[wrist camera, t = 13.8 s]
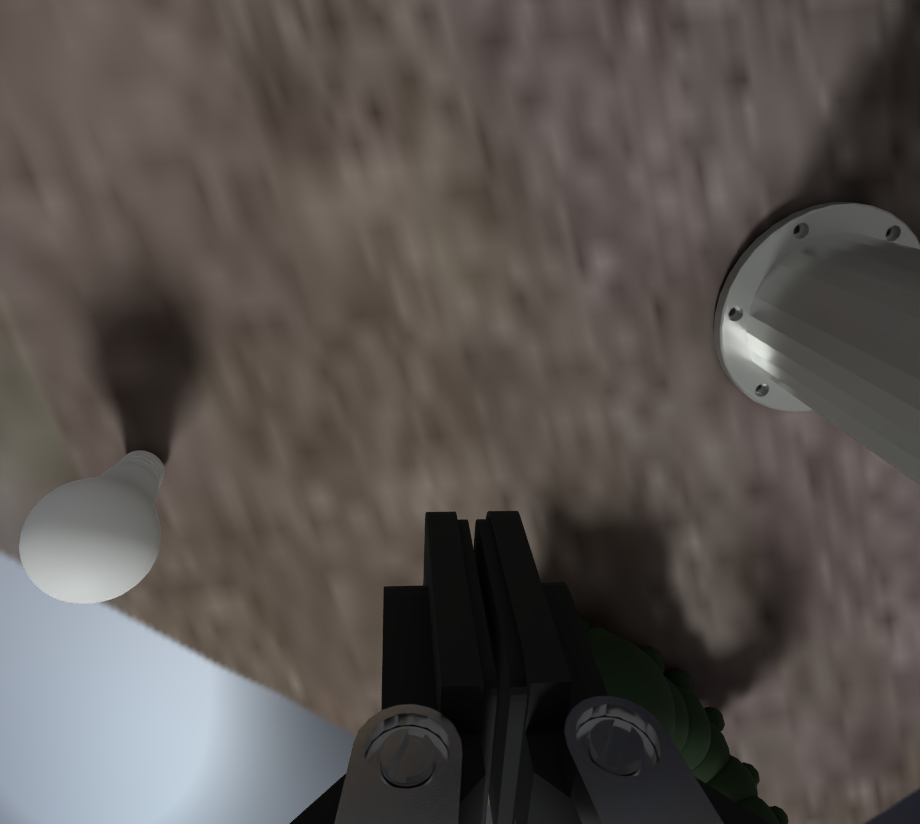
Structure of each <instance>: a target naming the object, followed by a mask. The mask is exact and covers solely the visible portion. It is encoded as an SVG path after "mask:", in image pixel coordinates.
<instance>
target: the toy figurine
mask: <svg viewBox="0 0 920 824" xmlns="http://www.w3.org/2000/svg"><path fill="white" fill-rule="evenodd" d="M579 618H580V617H579ZM580 621H581V624H582V626H583V629H584V632H585V634H586V637H587V640H588V643H589V645H590V648H591V651H592V653H593V656H594V659H595V661H596V664H597V667H598V670H599V672H600V675H601V678H602V680H603V683H604V686H605V688H606V691H607V694H608V696H613V697H618V698H623V699H627V700H629V701H631V702H633V703H636V704H638V705H640V706H642V707H643V708H645V709H646V710H647V711H648V712H650V713H651V714H652V715H654V716H655V717H656V718H657V720H658V721H659V722H660V723H661V724H662V726H663V727H664V728H665V729H666V731H667V733H668V734H669V736H670V737H671V739H672V741H673V742H674V744H675V746H676V747H677V749H678V750H679V752H680V754H681V755H682V757H683V758H684V760H685V762H686V763H687V765H688V767H689V768H690V770H691V771H692V773H693V775H694V776H695V777H696V778H698V779H699V780H701V781H703V782H704V783H706V784H707V785H709V786H711V787H712V788H714V789H715V790H717V791H719V792H720V793H722V794H723V795H725V796H727V797H728V798H730V799H731V800H733V801H735V802H736V803H738V804H739V805H741V806H743V807H744V808H746V809H747V810H749V811H751V812H752V813H754V814H755V815H757V816H759V817H760V818H762V819H763V820H765V821H767V822H768V823H770V824H788V817H787V815H786V813H785V812H784V811H783V809H781V808H779V807H777V806H772V807H769V806H768V805H767V804H766V803H765V802H764V801H763V800H762V799H760V798H759V797H758V794H757V785H758V783H759V781H760V780H759V774H758V771H757V770H756V769H755V768H754V767H753V766H752V765H750V764H747V763H744V762H743V763H741V762H740V761H739V760H738V759H737V758H735V757H733V756H731V755H730V753H729V748H728V745H727V743H726V740H725V738H724V736H723V734H722V733H721V732H720V731H722V730H723V728H724V725H725V724H724V720H723V716H722V714H721V713H720V712H719V711H718V710H717V709H716V708H713V707H705V708H703V706H702V705H701V703H700V702H699V701H698V700H697V699H696V698H695V697H694V696H693V695H692V694H691V692H692V690H693V687H692V681H691V679H690V677H689V675H688V674H686V673H685V672H683V671H680V670H677V669H675V670H671V671H670V672H669V673H668V674H667V675H666V676H664V675H663V673H664V669H665V666H664V663H663V660H662V657H661V654H660V652H658V651H657V650H656V649H654V648H653V647H651V646H641V647H637V646H636V645H634V644H633V643H631V642H630V641H628V640H626V639H624V638H622V637H620V636H617V635H614V634H611V633H609V632H608V631H607V630H606V629H604V628H602V627H593V628H590V626H589V625H588V624H587V622H586V621H585V620H584V619H582V618H580Z"/></svg>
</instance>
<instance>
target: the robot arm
mask: <svg viewBox="0 0 920 824" xmlns="http://www.w3.org/2000/svg"><path fill="white" fill-rule="evenodd" d="M795 227H796V229H795ZM794 229H795V231H794ZM731 309H732V311H731V312H730V310H731ZM729 312H730V313H729ZM714 340H715V347H716V353H717V356H718V358H719V361H720V364H721V366H722V369H723V370H724V372H725V373H726V375H727V376H728V378H729V379H730V381H731V382H732V383H733V384H734V385H735V386H736V387H737V388H739V389H740V390H741V391H742V392H743V393H744V394H745V395H747V396H748V397H749V398H751V399H752V400H754V401H755V402H757V403H760V404H762V405H764V406H767V407H769V408H771V409H776V410H781V411H787V412H808V411H815V412H817V413H818V414H819V415H821V416H822V417H824V418H825V419H827V420H828V421H829V422H831V423H832V424H834V425H835V426H836V427H838V428H839V429H841V430H842V431H844V432H845V433H846V434H848V435H849V436H851V437H852V438H853V439H855V440H856V441H858V442H859V443H861V444H862V445H863V446H865V447H866V448H868V449H869V450H870V451H872V452H873V453H875V454H876V455H878V456H879V457H880V458H882V459H883V460H885V461H886V462H887V463H889V464H890V465H892V466H893V467H895V468H896V469H897V470H899V471H900V472H902V473H903V474H904V475H906V476H907V477H909V478H910V479H912V480H913V481H914V482H916V483H917V484H919V485H920V243H919V241H918V239H917V237H916V236H915V234H914V233H913V232H912V231H911V229H910V228H909V227H908V226H907V224H906V223H904V222H903V221H901V220H900V219H899V218H897V217H896V216H895V215H893V214H892V213H890V212H887V211H885V210H882V209H880V208H877V207H875V206H871V205H866V204H861V203H856V202H831V203H825V204H819V205H814V206H811V207H808V208H806V209H803V210H800V211H798V212H795V213H793V214H791V215H789V216H788V217H786V218H784V219H782V220H781V221H779V222H777V223H775V224H774V225H773V226H771V227H770V228H769V229H768V230H766V231H765V232H764V233H763V234H762V235H760V236H759V237H758V238H757V239H756V240H755V241H754V242H753V243H752V244H751V245H750V246H749V247H748V249H747V250H746V251H745V252H744V253H743V254H742V255H741V256H740V258H739V259H738V261H737V263H736V264H735V266H734V267H733V269H732V270H731V272H730V273H729V275H728V277H727V279H726V282H725V284H724V286H723V289H722V291H721V293H720V296H719V300H718V304H717V308H716V312H715V320H714ZM488 793H489V800H490V807H491V814H492V821H493V824H770V823H768V822H767V821H765V820H763V819H762V818H760V817H759V816H757V815H755V814H754V813H752V812H751V811H749V810H747V809H746V808H744V807H743V806H741V805H739V804H738V803H736V802H735V801H733V800H731V799H730V798H728V797H727V796H725V795H723V794H722V793H720V792H719V791H717V790H715V789H714V788H712V787H711V786H709V785H707V784H706V783H704V782H703V781H701V780H699V779H698V778H696V777H695V776H694V775H693V773H692V771H691V770H690V768H689V767H688V765H687V763H686V762H685V760H684V758H683V757H682V755H681V754H680V752H679V750H678V749H677V747H676V746H675V744H674V742H673V741H672V739H671V737H670V736H669V734H668V733H667V731H666V729H665V728H664V727H663V726H662V724H661V723H660V722H659V721H658V720H657V718H656V717H655V716H654V715H652V714H651V713H650V712H648V711H647V710H646V709H645V708H643V707H642V706H640V705H638V704H636V703H633V702H631V701H629V700H627V699H623V698H618V697H613V696H608V694H607V691H606V688H605V686H604V683H603V680H602V678H601V675H600V672H599V670H598V667H597V664H596V661H595V659H594V656H593V653H592V651H591V648H590V645H589V643H588V640H587V637H586V634H585V632H584V629H583V626H582V624H581V621H580V618H579V616H578V613H577V610H576V607H575V605H574V602H573V599H572V597H571V594H570V591H569V589H568V587H567V585H566V584H565V583H564V582H557V583H541V581H540V578H539V574H538V571H537V568H536V565H535V562H534V559H533V555H532V552H531V549H530V546H529V543H528V540H527V536H526V533H525V530H524V527H523V524H522V521H521V518H520V514H519V512H518V511H488V512H487V516H486V519H477V520H476V524H475V537H474V550H473V544H472V539H471V534H470V528H469V523H468V520H457V514H456V512H426V515H425V545H424V580H423V586H389V587H384V606H383V661H382V711H380V712H378V713H377V714H375V715H374V716H372V717H371V718H369V719H368V720H367V722H366V723H365V724H364V725H363V726H362V727H361V729H360V730H359V732H358V734H357V736H356V739H355V741H354V743H353V748H352V752H351V756H350V760H349V764H348V768H347V773H346V774H345V775H344V776H343V777H341V778H340V779H339V780H338V781H337V782H336V783H335V784H334V785H332V786H331V787H330V788H329V789H328V790H327V791H326V792H325V793H324V794H322V795H321V796H320V797H319V798H318V799H317V800H316V801H314V802H313V803H312V804H311V805H310V806H309V807H308V808H307V809H306V810H304V811H303V812H302V813H301V814H300V815H299V816H298V817H297V818H296V819H294V820H293V821H292V822H291V823H290V824H485V823H486V812H487V802H488Z"/></svg>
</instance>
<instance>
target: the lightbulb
mask: <svg viewBox="0 0 920 824" xmlns="http://www.w3.org/2000/svg"><path fill="white" fill-rule="evenodd" d="M164 474H165V469H164V465H163V463H162V461H161V460H160V459H159V458H158V457H157V456H156V455H154V454H152V453H150V452H147V451H141V450H138V451H132V452H130V453H128V454H127V455H125V456H124V457H123V458H122V459H121V460H120V461H119V462H118V463H117V464H116V465H114V466H111V467H110V468H108V469H107V470H106V471H105V472H104V473H103V474H102V475H101V476H99V477H92V478H86V479H81V480H77V481H73V482H69V483H67V484H65V485H62V486H60V487H58V488H57V489H55V490H53V491H51V492H50V493H48V494H47V495H46V496H44V497H43V498H42V499H41V500H40V501H39V502H38V503H37V504H36V506H35V507H34V508H33V509H32V510H31V512H30V513H29V515H28V517H27V519H26V521H25V524H24V526H23V528H22V531H21V537H20V543H19V551H20V557H21V561H22V564H23V567H24V570H25V572H26V573H27V575H28V576H29V578H30V579H31V581H32V582H33V583H34V584H35V585H36V586H37V587H38V588H39V589H40V590H42V591H43V592H44V593H45V594H47V595H49V596H51V597H53V598H55V599H58V600H61V601H64V602H69V603H77V604H91V603H98V602H103V601H107V600H110V599H113V598H116V597H118V596H120V595H122V594H124V593H125V592H127V591H128V590H130V589H131V588H133V587H134V586H136V585H137V584H138V583H139V582H140V581H141V580H142V579H143V578H144V577H145V576H146V574H147V573H148V572H149V571H150V569H151V568H152V566H153V564H154V562H155V560H156V558H157V556H158V553H159V549H160V544H161V527H160V522H159V519H158V515H157V512H156V510H155V508H154V505H155V502H156V500H157V498H158V495H159V486H160V484H161V482H162V480H163V477H164Z"/></svg>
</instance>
